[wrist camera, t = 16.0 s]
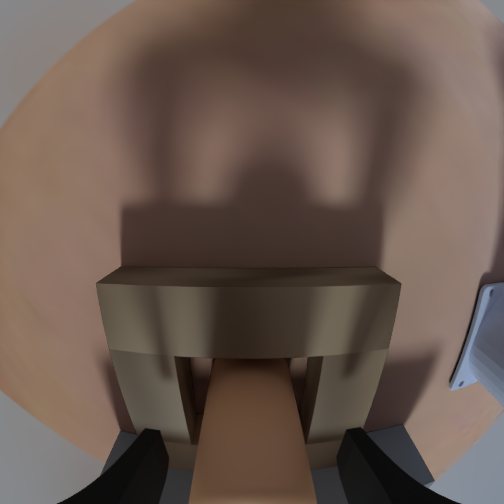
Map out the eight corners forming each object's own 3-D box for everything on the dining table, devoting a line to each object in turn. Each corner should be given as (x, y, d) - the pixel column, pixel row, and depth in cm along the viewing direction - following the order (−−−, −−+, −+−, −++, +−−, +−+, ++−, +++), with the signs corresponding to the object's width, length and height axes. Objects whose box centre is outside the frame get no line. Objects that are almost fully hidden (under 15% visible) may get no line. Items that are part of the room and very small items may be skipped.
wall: (402, 424, 15) (434, 480, 9) (392, 444, 15) (418, 498, 10) (120, 430, 15) (92, 493, 9) (129, 450, 15) (107, 509, 9)
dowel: (295, 345, 13) (333, 483, 5) (282, 403, 14) (300, 526, 6) (213, 339, 13) (184, 480, 5) (210, 398, 14) (192, 523, 6)
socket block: (376, 266, 12) (401, 283, 10) (338, 437, 15) (347, 464, 12) (121, 266, 12) (95, 283, 10) (158, 438, 15) (150, 464, 12)
